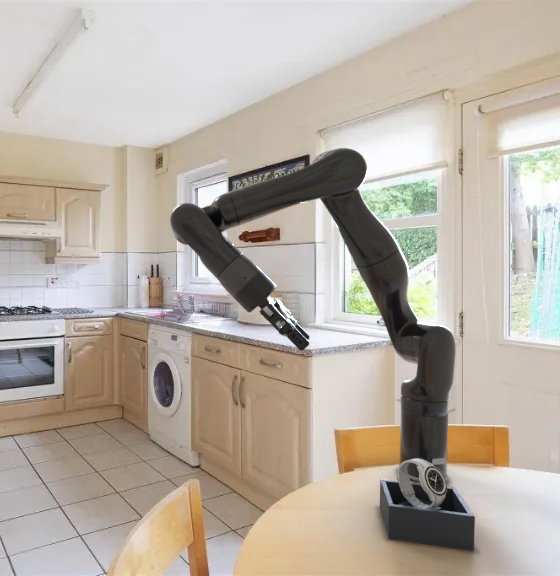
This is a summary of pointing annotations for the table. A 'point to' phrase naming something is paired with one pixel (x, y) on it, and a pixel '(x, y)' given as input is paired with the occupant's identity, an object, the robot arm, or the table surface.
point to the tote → (427, 518)
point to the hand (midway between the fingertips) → (306, 344)
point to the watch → (422, 484)
